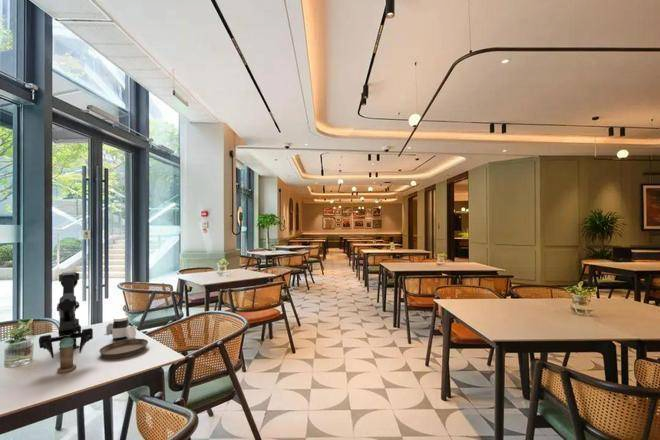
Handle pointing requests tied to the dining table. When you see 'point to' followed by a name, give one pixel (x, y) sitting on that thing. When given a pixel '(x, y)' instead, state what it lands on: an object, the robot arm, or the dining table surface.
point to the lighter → (109, 328)
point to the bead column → (66, 355)
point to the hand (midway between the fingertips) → (66, 355)
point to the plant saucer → (123, 348)
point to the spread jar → (122, 329)
